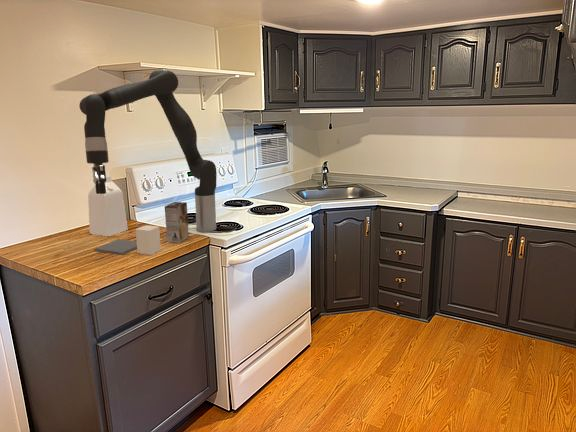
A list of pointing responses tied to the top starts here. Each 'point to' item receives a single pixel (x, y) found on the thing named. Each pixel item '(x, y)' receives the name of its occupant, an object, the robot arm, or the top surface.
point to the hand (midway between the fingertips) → (101, 193)
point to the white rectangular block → (148, 239)
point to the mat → (118, 247)
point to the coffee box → (176, 222)
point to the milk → (107, 210)
